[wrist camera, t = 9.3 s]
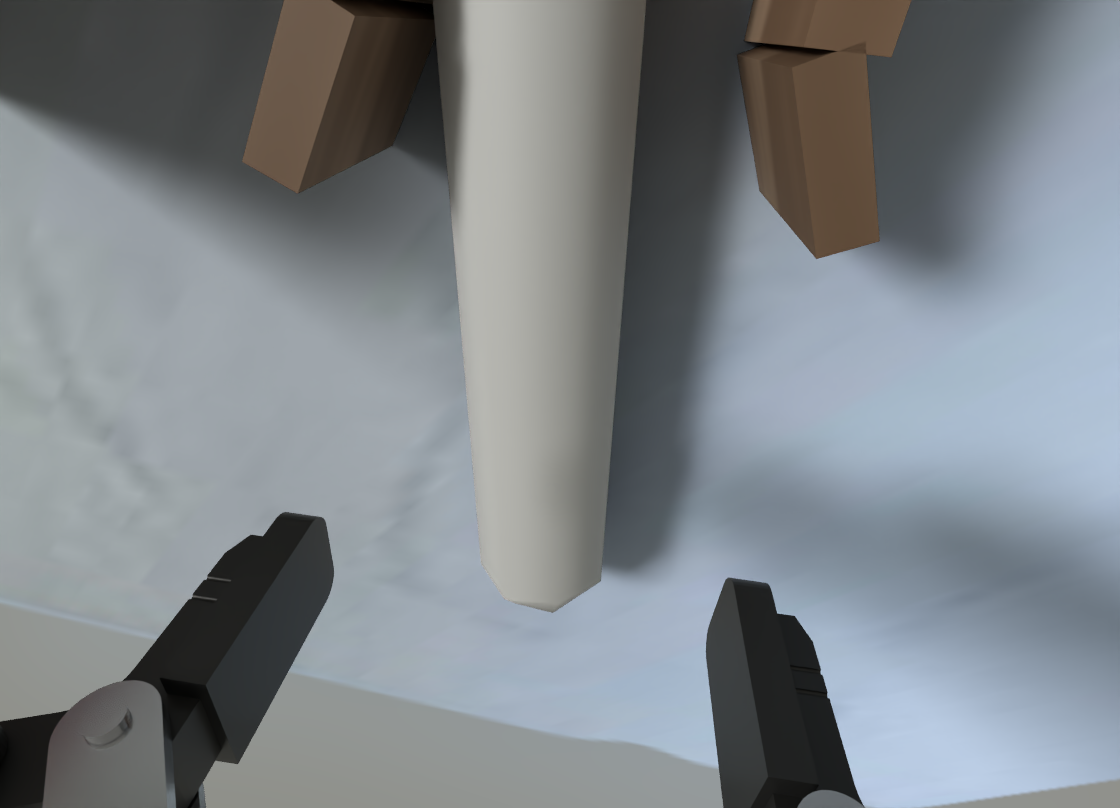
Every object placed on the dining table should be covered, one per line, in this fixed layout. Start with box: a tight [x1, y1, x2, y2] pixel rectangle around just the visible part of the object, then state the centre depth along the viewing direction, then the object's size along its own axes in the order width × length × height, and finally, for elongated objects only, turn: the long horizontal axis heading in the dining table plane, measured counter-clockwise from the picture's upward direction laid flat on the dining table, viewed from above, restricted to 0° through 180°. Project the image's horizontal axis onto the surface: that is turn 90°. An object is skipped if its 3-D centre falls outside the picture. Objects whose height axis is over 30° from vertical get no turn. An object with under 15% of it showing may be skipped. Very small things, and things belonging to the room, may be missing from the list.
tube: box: [433, 0, 646, 613], centre depth 17 cm, size 5×5×25 cm
